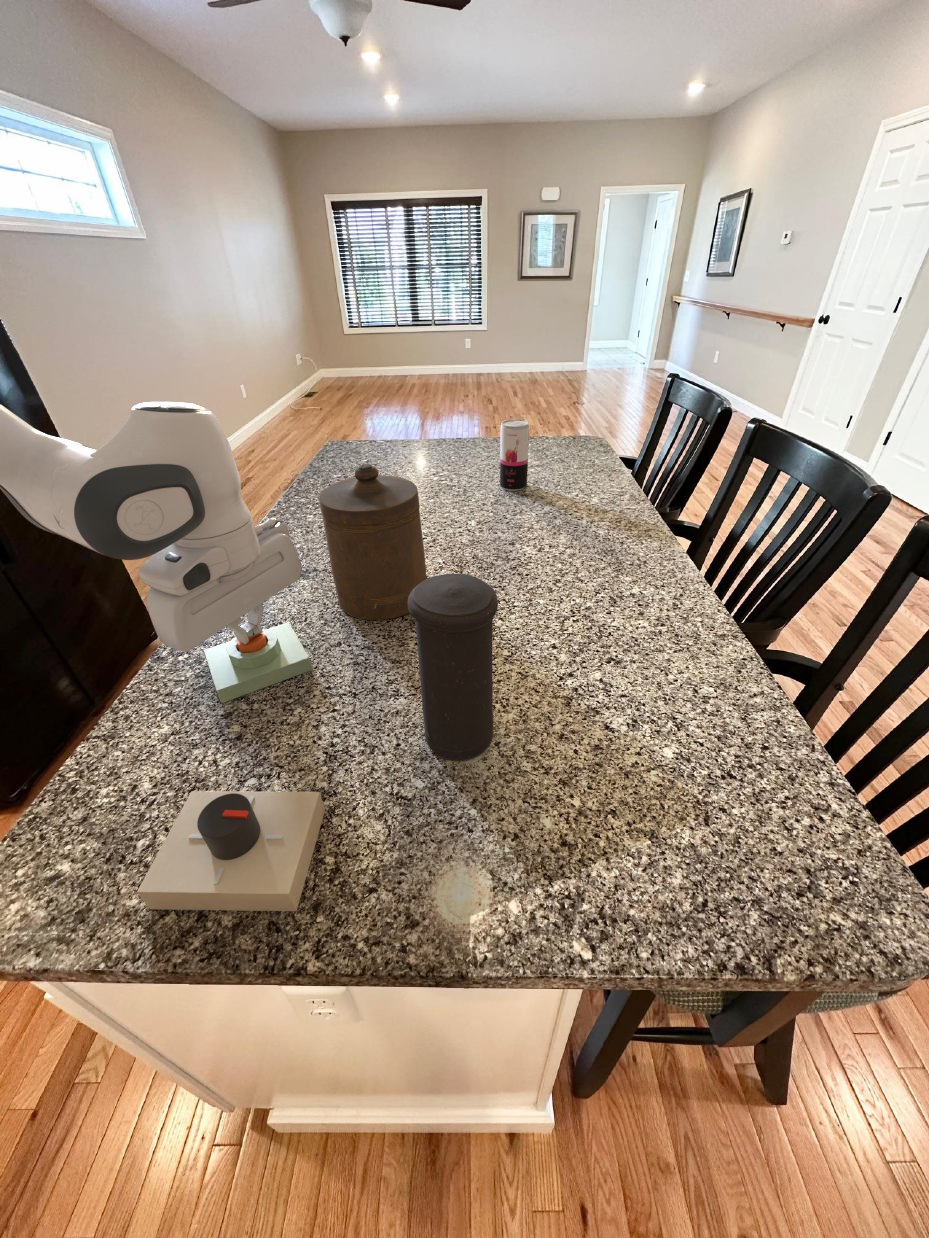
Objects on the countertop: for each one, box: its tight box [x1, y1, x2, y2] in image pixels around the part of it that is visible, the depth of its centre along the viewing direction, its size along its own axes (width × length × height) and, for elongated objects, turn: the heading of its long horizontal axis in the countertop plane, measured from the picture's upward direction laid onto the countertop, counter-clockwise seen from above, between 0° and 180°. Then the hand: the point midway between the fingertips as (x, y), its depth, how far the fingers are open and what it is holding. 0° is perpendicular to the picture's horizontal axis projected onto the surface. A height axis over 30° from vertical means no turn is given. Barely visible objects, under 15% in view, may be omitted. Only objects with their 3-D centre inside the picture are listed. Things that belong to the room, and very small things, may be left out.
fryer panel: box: [136, 790, 326, 912], centre depth 48 cm, size 13×10×3 cm
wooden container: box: [318, 463, 428, 621], centre depth 79 cm, size 15×15×22 cm
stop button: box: [237, 632, 267, 653], centre depth 69 cm, size 4×4×2 cm
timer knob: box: [197, 793, 260, 860], centre depth 46 cm, size 4×4×4 cm
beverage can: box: [499, 418, 530, 492], centre depth 121 cm, size 6×6×15 cm
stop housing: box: [203, 621, 313, 704], centre depth 71 cm, size 12×10×4 cm
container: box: [408, 573, 499, 762], centre depth 55 cm, size 9×9×20 cm
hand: (250, 637), depth 69 cm, fingers closed, pressing on stop button
